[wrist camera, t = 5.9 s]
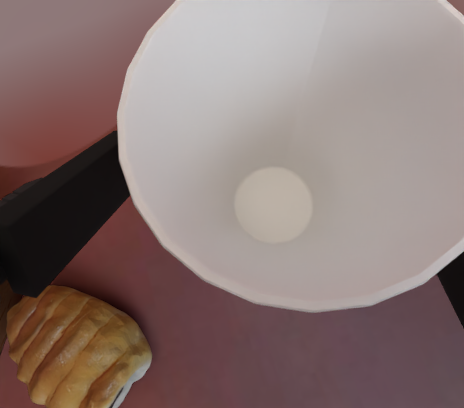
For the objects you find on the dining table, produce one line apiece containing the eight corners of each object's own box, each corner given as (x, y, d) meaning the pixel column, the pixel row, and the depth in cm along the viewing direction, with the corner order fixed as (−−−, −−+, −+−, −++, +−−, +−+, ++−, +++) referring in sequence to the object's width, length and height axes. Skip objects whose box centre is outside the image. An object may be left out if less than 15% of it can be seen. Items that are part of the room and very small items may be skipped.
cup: (180, 258, 21) (57, 245, 8) (221, 122, 23) (179, -75, 10) (331, 301, 20) (488, 374, 7) (362, 154, 22) (533, -20, 8)
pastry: (2, 340, 21) (-53, 356, 17) (66, 258, 22) (27, 256, 18) (105, 433, 19) (70, 473, 15) (169, 340, 20) (150, 356, 16)
